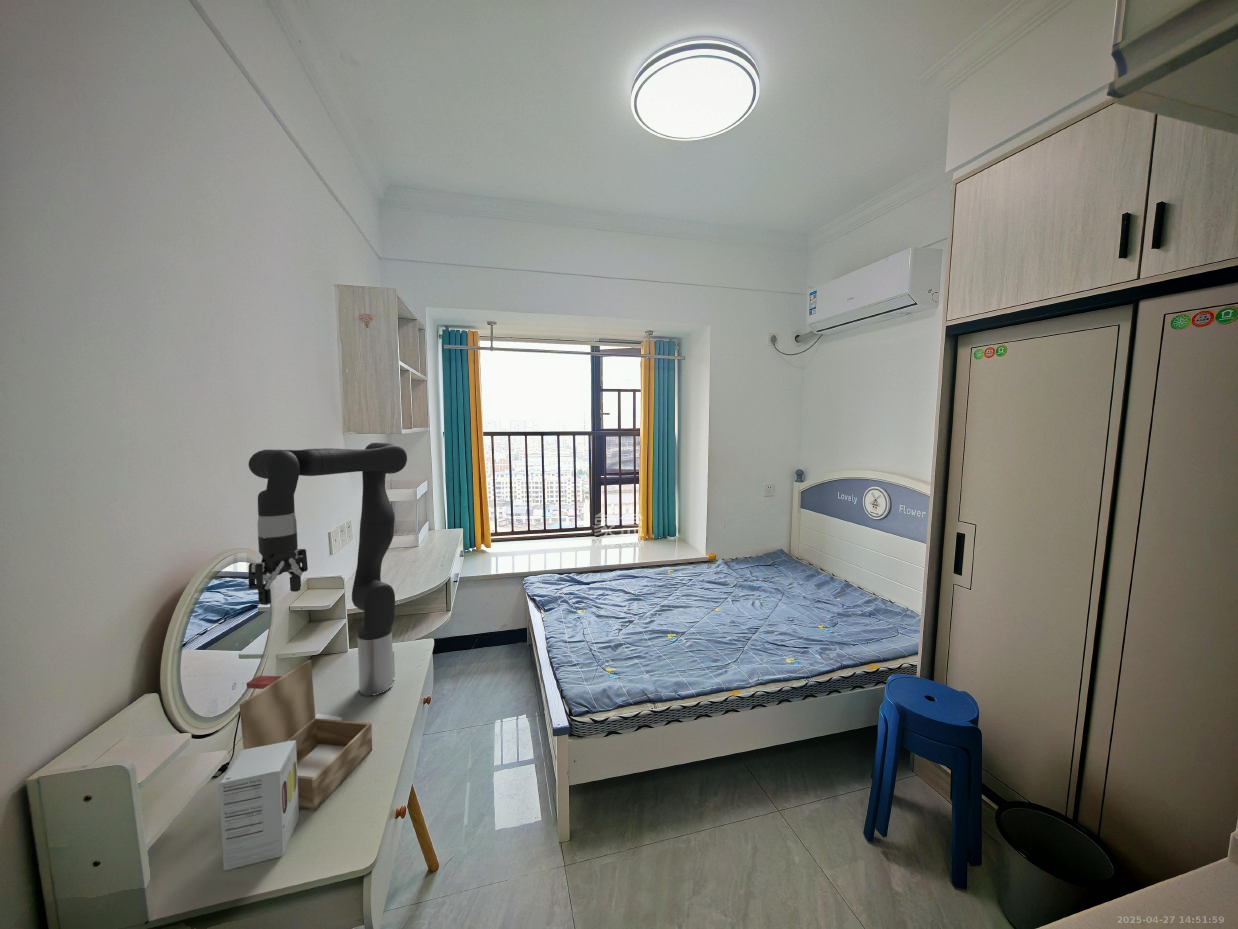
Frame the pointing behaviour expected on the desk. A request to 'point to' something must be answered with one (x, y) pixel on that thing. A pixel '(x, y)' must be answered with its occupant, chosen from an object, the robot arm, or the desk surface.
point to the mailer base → (337, 764)
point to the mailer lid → (278, 707)
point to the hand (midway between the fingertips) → (280, 597)
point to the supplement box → (259, 804)
